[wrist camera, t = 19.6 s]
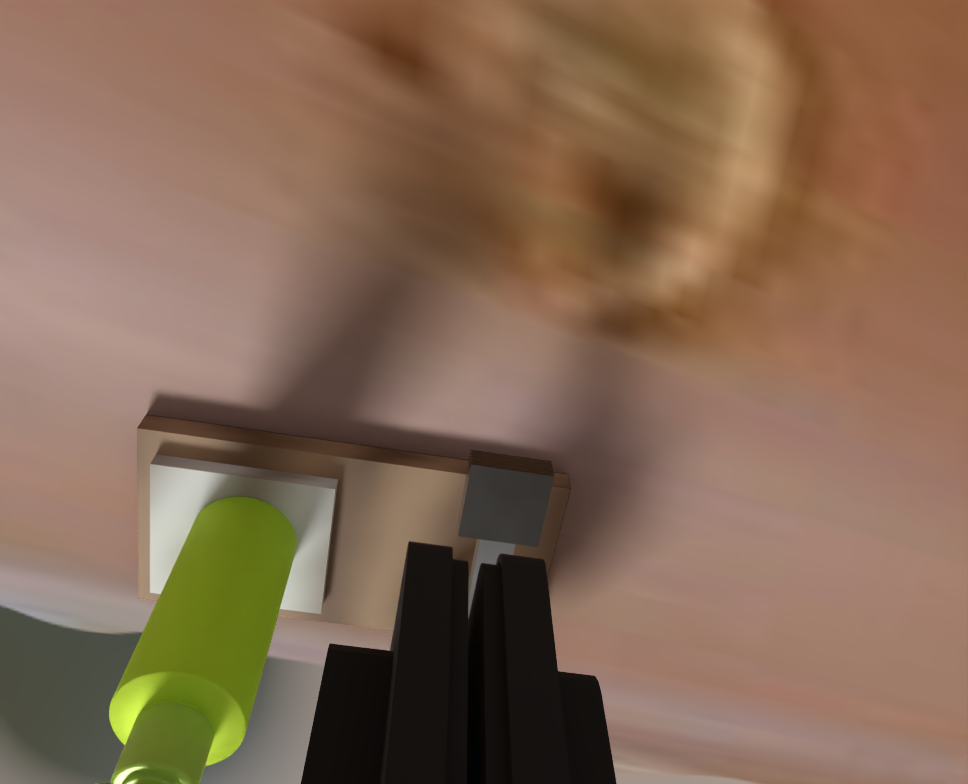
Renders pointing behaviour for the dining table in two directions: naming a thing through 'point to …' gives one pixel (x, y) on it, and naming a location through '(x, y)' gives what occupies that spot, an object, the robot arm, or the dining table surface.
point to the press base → (312, 511)
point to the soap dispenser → (204, 645)
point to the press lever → (502, 506)
